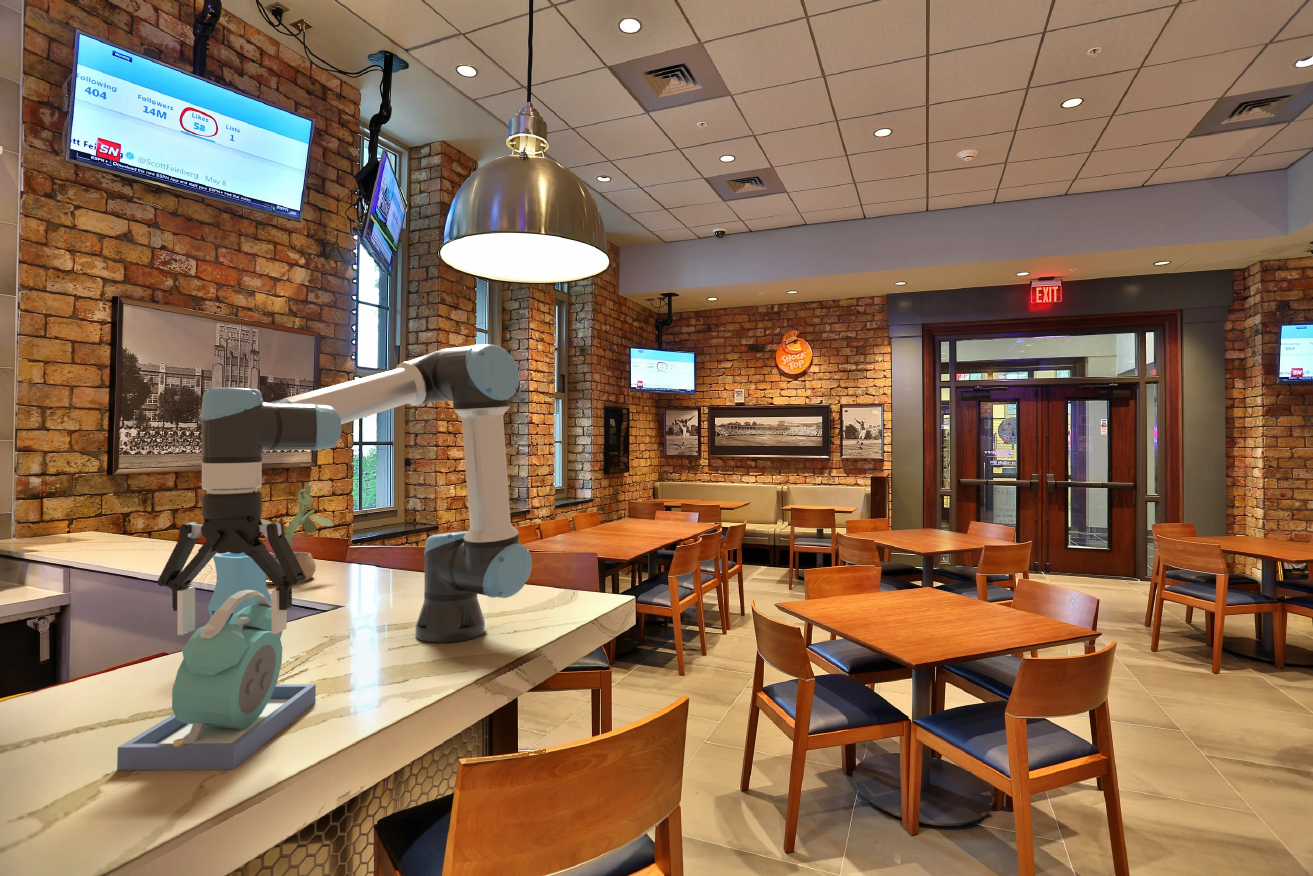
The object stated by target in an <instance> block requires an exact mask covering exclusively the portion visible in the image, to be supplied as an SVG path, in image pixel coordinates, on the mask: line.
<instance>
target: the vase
mask: <svg viewBox="0 0 1313 876" xmlns="http://www.w3.org/2000/svg"><path fill="white" fill-rule="evenodd" d="M268 552H269V553H270V554H271V555H272V554H273V552H271V551H268ZM212 559H213V562H214V566H215V573H216V580H215V581H216V582H215V588H214V591H213V593H212V596H211V599H210V601H209V602H208V604H207V605H208V606H207V607H208V609H207V610H208V613H209V617H210V618H211V617H212V616H213V615H214V613H215V612H216V611H217V610H218V609H219V608H220V607H221V606H222V604H223V603H224V602H225V601H226V600H227V599H228V598H229V597H231V596H232V595H234V594H236V593H237V592H239V591H244V590H255V591H258V592H260V593H261V594H263V595H264V596H265V597H266V599H267V600H268V601H270V602H271V604H272V596H271V595H270V593H269V590H268V587H267V586H268V585H266V578H265V577H266V574H265V573H264V572H263V571H262V569H261V568H260V567H259V566H258V565H257V564H256V563H255V561H254V560H253V559H252V558H251V557H249V556H247V555H246V554H245V553H244V552H243V553H240V554H234V553H230V552H228V553H224V554H218V553H217V554H215V555H214V556H213V557H212ZM252 605H257V604H255V603H254V601H253V599H252V597H251V598H248V599H246V600H245V601H243V602H241V603H240V604H239V605H238V606H237V607H236V608H235V609H234V611H233V612H232V613H231V615H230V617H229V618H228V620H227V622H226V623H228V622H229V621H230V619H231V617H232V616H233V615H235V614H236V613H238V612H239V611H240V610H242V609H243V608H245V607H248V606H252Z"/></svg>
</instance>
